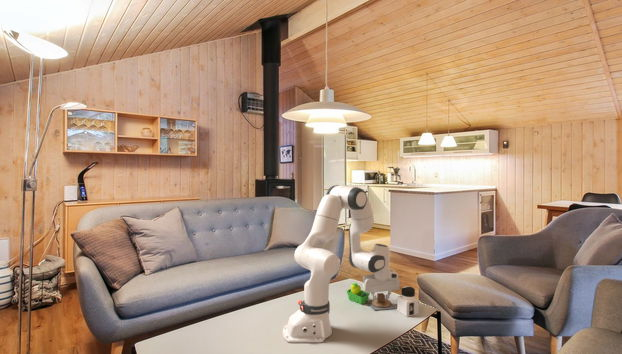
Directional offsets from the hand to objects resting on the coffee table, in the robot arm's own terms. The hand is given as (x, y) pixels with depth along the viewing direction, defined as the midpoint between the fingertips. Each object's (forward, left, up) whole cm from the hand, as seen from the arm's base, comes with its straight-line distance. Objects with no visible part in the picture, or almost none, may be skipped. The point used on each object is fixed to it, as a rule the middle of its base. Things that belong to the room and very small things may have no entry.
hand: (381, 298), depth 177 cm
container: (+10, -11, -4) cm, 15 cm away
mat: (0, 0, -3) cm, 3 cm away
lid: (0, 0, -3) cm, 3 cm away
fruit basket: (-11, +7, -4) cm, 14 cm away
